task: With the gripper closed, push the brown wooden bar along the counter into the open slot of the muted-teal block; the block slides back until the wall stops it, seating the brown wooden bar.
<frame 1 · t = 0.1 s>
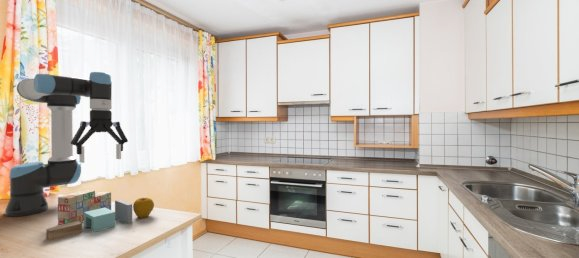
hand: (101, 160, 117), 28 cm above the counter, fingers open, 13 cm apart
apple: (143, 217, 130), on the counter
brown wooden bar: (64, 235, 108), on the counter
wall: (123, 219, 126), on the counter
stack of blocks: (86, 217, 129), on the counter
block: (99, 219, 118), point 3 cm above the counter, slide at 0.0 cm
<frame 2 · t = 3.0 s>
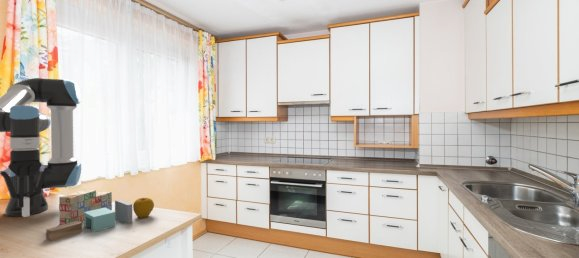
hand: (25, 215, 98), 11 cm above the counter, fingers closed
nothing on the counter moved.
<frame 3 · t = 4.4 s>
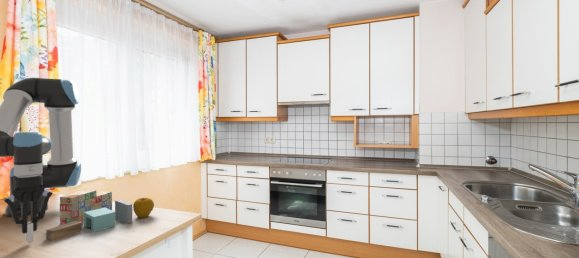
hand: (29, 240, 100), 1 cm above the counter, fingers closed
nothing on the counter moved.
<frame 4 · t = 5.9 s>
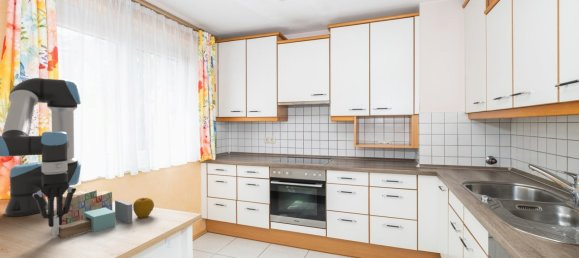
hand: (55, 234, 106), 1 cm above the counter, fingers closed
brown wooden bar: (75, 233, 110), on the counter
everything else where it was.
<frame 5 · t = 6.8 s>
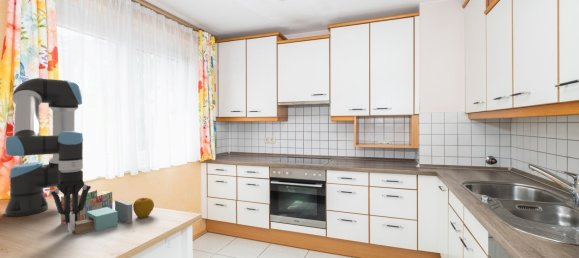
hand: (71, 230, 110), 1 cm above the counter, fingers closed
brown wooden bar: (89, 229, 114), on the counter, touching gripper
block: (102, 218, 118), point 3 cm above the counter, slide at 0.9 cm
everything else where it was.
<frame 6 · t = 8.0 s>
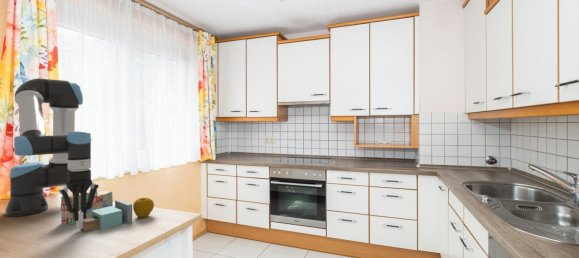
hand: (79, 227, 112), 1 cm above the counter, fingers closed
brown wooden bar: (96, 227, 116), on the counter, touching gripper
block: (106, 217, 120), point 3 cm above the counter, slide at 2.7 cm
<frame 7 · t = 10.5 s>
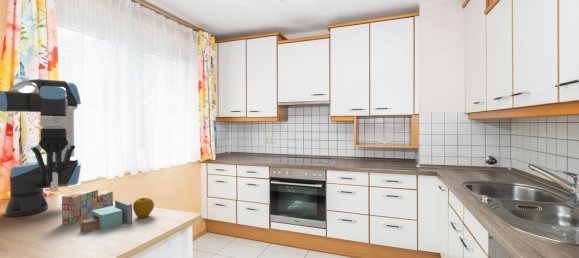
hand: (54, 190, 105), 18 cm above the counter, fingers closed
brown wooden bar: (96, 228, 116), on the counter
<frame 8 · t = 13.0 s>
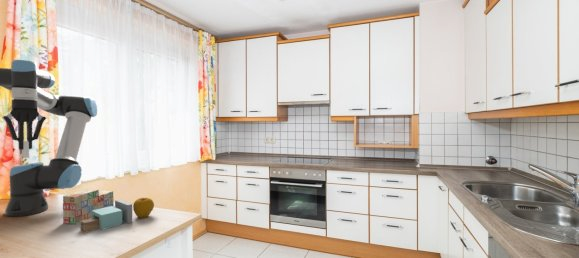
hand: (25, 157, 113), 29 cm above the counter, fingers closed
at the end: block slide at 2.8 cm; brown wooden bar 0.8 cm from the target spot on the block, point 0.0 cm above the block's base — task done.
